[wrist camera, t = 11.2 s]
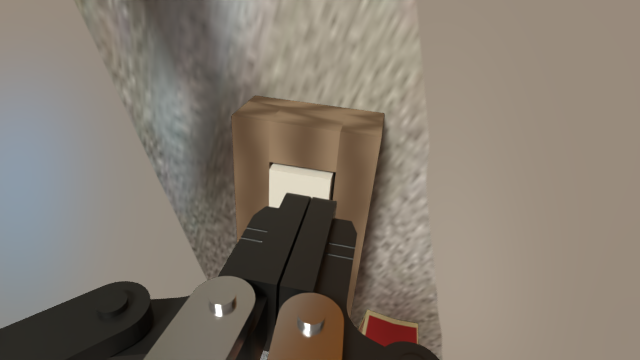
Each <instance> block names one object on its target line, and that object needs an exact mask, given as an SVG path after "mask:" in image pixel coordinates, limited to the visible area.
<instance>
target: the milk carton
mask: <svg viewBox="0 0 640 360" xmlns="http://www.w3.org/2000/svg"><path fill="white" fill-rule="evenodd" d="M358 330H359V331H360V332H361V333H362V334H364V335H365V336H367V337H368V338H370V339H372V340H373V341H375V342H377V343H379V344H381V345H383V346H387V345H388V344H391V343H393V342H398V341H407V342H413V343H416V344H418V343H419V342H418V324H417V323H411V322H406V321H400V320H395V319H392V318H389V317H387V316H384V315H381V314H378V313H375V312H373V311H370V310H367V311H366V313H365V315H364V317H363V320H362V322H361V324H360V326H359V328H358Z"/></svg>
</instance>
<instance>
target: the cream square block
mask: <svg viewBox="0 0 640 360" xmlns="http://www.w3.org/2000/svg"><path fill="white" fill-rule="evenodd" d="M335 175H336V172H330V171H324V170H317V169H311V168H305V167H298V166H292V165H286V164H279V163H273V165H272V166H271V168H270V169H269V207H275V208H279V207H280V205H281V202H282V200H283V198H284V196H285V194H286V193H293V194H299V195H304V196H310V197H311V198H312V197H316V198H322V199H328V200H333V192H334V183H335Z"/></svg>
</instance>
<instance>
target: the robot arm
mask: <svg viewBox="0 0 640 360" xmlns="http://www.w3.org/2000/svg"><path fill="white" fill-rule="evenodd" d="M336 209H337V201H334V200H328V199H322V198H316V197H312V198H311V197H310V196H304V195H299V194H293V193H286V194H285V196H284V198H283V200H282V202H281V205H280V207H279V208H275V207H269V206H266V207H264V208H263V209H261V210H260V211H258V212H257V213H256V214H254V215H253V217H252V219H251V220H250V222H249V224H248V225H247V228H246V229H245V231H244V232H243V234H242V236H241V239H239V241H238V243H237V244H236V246H235V248H234V250H233V251H232V253H231V255H230V257H229V258H228V260H227V262H226V263H225V265H224V267H223V269H222V270H221V272H220V274H219V275H218V277H215V278H212V279H209V280H207V281H205V282H204V283H202V284H201V285H199V286H198V287H197V288H196V289H195V290H194V291H193V293H192V294H191V295H190V296H186V297H180V298H167V299H152V300H151V299H150V295H149V293H148V291H147V289H146V288H145V287H143V286H142V285H140V284H138V283H134V282H128V281H125V282H115V283H111V284H108V285H105V286H102V287H100V288H97V289H95V290H92V291H90V292H88V293H85V294H83V295H81V296H78V297H76V298H73V299H71V300H69V301H66V302H64V303H61V304H59V305H57V306H54V307H52V308H49V309H47V310H45V311H42V312H40V313H37V314H35V315H33V316H30V317H28V318H25V319H23V320H21V321H18V322H16V323H13V324H11V325H9V326H6V327H4V328H1V329H0V360H260V358H261V355H262V352H263V350H264V351H269V354H268V358H267V360H439V359H438V357H437V356H436V355H435V354H433V353H432V352H431V351H430V350H428V349H427V348H425V347H423V346H421V345H419V344H416V343H413V342H407V341H398V342H393V343H391V344H388V345H387V346H383V345H381V344H379V343H377V342H375V341H373V340H372V339H370V338H368V337H367V336H365V335H364V334H362V333H361V332H360V331H359V330H358V329H357V328H356V327H355V326H354V325H353V323H352V322H351V320H350V318H349V315H348V312H347V298H348V292H349V285H350V279H351V272H352V265H353V259H354V252H355V246H356V239H357V232H356V230H355V227H354V225H353V223H352V221H348V220H343V219H337V218H335V216H336Z"/></svg>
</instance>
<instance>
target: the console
mask: <svg viewBox="0 0 640 360" xmlns="http://www.w3.org/2000/svg"><path fill="white" fill-rule="evenodd" d="M231 119H232V140H233V161H234V182H235V204H236V225H237V243H238V241H239V239H241V236H242V234H243V232H244V231H245V229H246V228H247V225H248V224H249V222H250V220H251V219H252V217H253V215H254V214H256V213H257V212H258V211H260V210H261V209H263V208H264V207H266V206H269V169H270V168H271V166H272V165H273V163H279V164H286V165H292V166H298V167H305V168H311V169H317V170H324V171H330V172H336V175H335V183H334V192H333V200H334V201H337V209H336V216H335V218H337V219H343V220H348V221H352V223H353V225H354V227H355V230H356V232H357V239H356V246H355V252H354V259H353V265H352V272H351V279H350V285H349V292H348V298H347V312H348V315H349V318H350V316H351V310H352V304H353V298H354V293H355V287H356V281H357V275H358V270H359V264H360V258H361V253H362V247H363V241H364V235H365V230H366V224H367V218H368V212H369V207H370V201H371V195H372V190H373V184H374V178H375V172H376V167H377V161H378V155H379V149H380V144H381V138H382V129H383V120H384V113H378V112H371V111H364V110H356V109H349V108H342V107H334V106H327V105H320V104H312V103H305V102H298V101H290V100H283V99H276V98H269V97H261V96H254V97H253V98H251V99H250V100H249V101H248V102H247V103H246V104H245V105H243V106H242V107H241V108H240V109H239V110H238V111H237V112H235V113H234V114H233V115H232V116H231Z"/></svg>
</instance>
